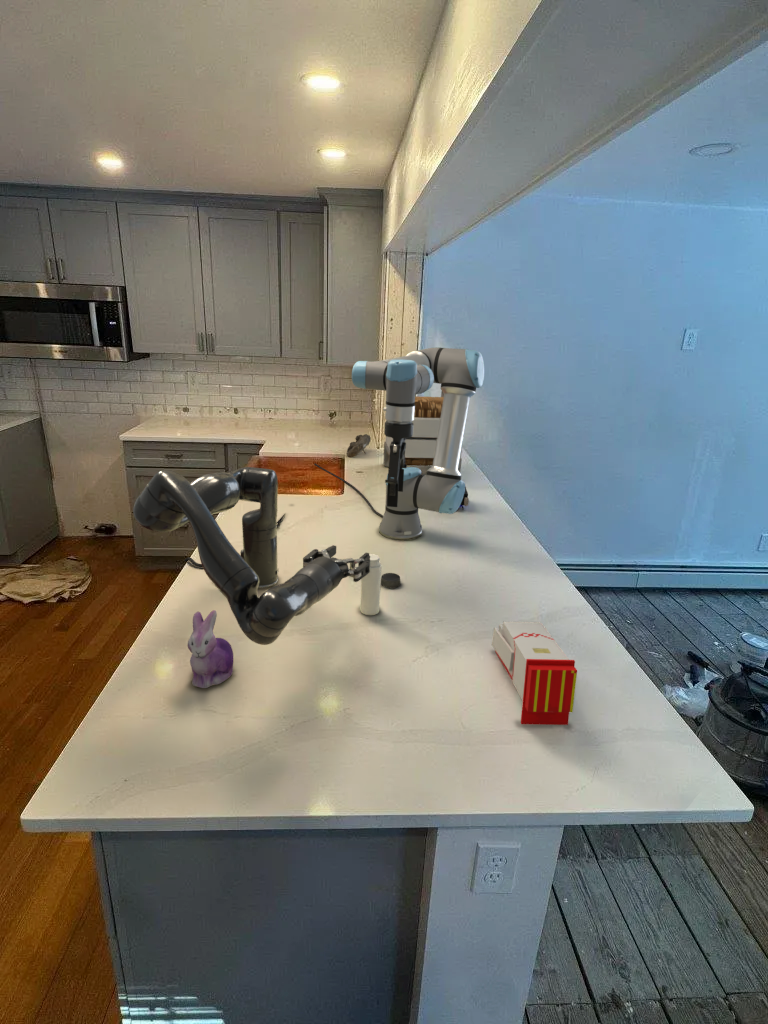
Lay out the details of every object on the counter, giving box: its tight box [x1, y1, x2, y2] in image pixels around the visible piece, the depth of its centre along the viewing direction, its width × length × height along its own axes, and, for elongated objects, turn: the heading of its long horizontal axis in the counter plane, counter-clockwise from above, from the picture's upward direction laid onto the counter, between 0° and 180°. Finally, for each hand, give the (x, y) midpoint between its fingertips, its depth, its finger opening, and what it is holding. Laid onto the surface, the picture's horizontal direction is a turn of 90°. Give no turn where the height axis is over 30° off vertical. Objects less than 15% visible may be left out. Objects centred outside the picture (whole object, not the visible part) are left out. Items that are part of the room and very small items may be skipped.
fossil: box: [346, 433, 372, 458], centre depth 305 cm, size 22×10×15 cm
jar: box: [359, 553, 382, 616], centre depth 146 cm, size 5×5×15 cm
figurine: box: [187, 609, 234, 689], centre depth 117 cm, size 9×10×15 cm
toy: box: [491, 621, 578, 726], centre depth 121 cm, size 12×13×30 cm
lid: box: [380, 572, 401, 589], centre depth 163 cm, size 6×6×2 cm
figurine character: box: [459, 486, 470, 511], centre depth 230 cm, size 7×8×15 cm
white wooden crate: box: [383, 391, 464, 475], centre depth 268 cm, size 34×33×41 cm
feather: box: [276, 513, 286, 529], centre depth 210 cm, size 2×28×2 cm
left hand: (351, 552), depth 131 cm, fingers open, 8 cm apart
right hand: (395, 498), depth 155 cm, fingers open, 13 cm apart
